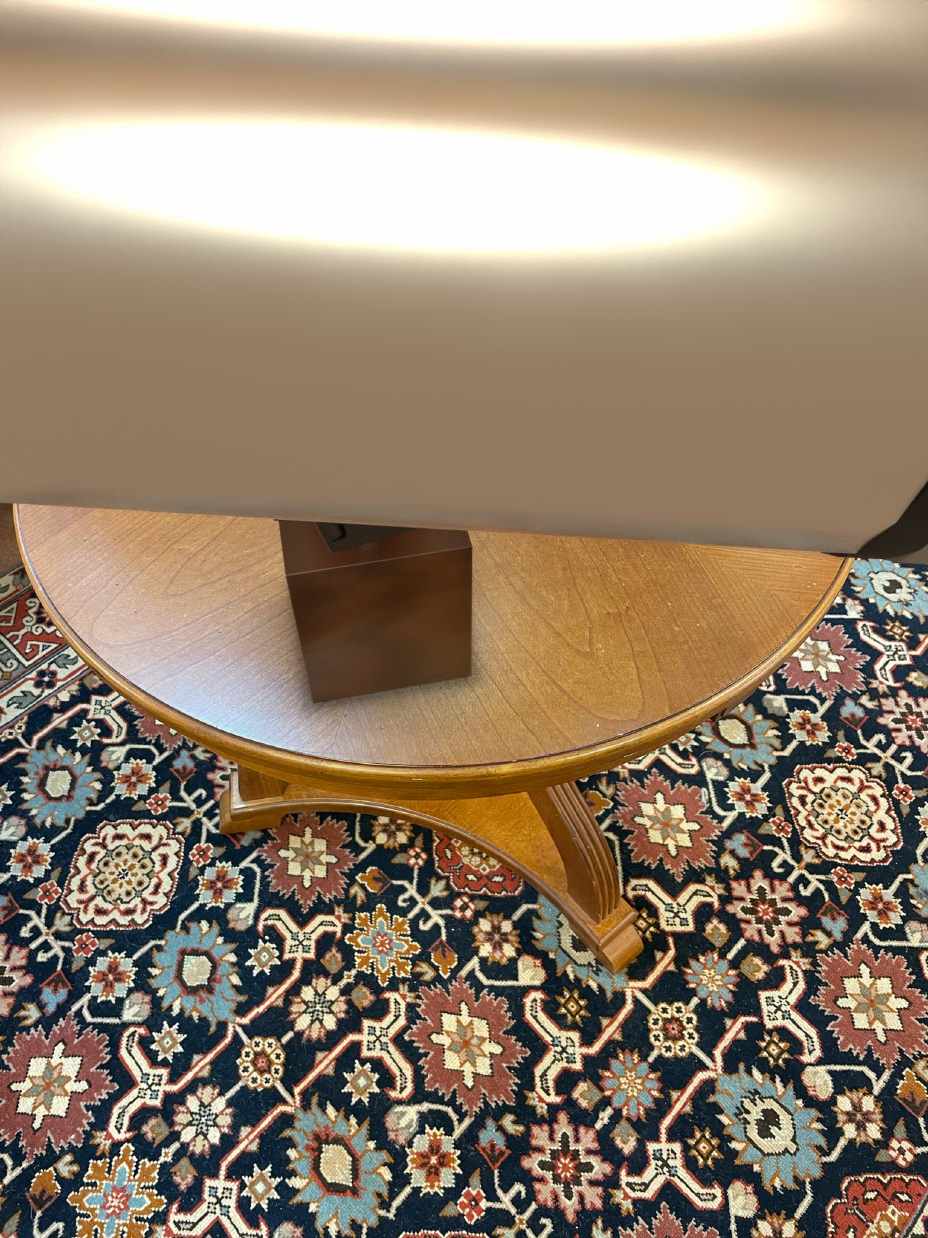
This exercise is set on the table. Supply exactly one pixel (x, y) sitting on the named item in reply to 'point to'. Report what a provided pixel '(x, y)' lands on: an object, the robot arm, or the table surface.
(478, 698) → the table surface
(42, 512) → the table surface
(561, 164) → the robot arm
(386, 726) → the table surface
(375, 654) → the stand
